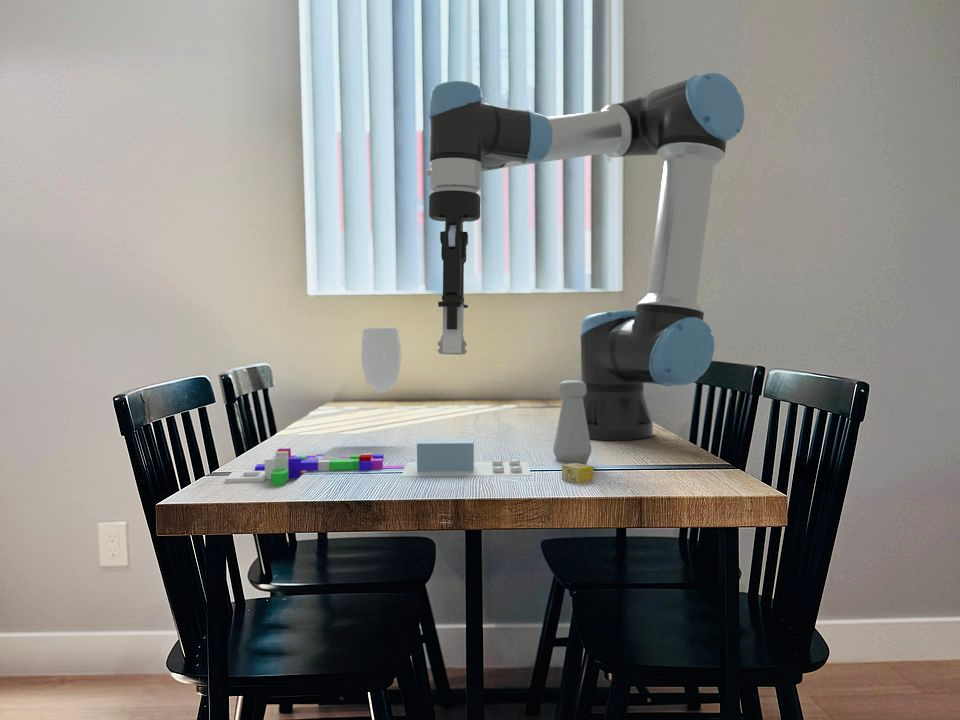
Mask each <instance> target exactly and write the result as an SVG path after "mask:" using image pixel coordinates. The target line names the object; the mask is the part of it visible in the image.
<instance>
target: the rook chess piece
mask: <svg viewBox="0 0 960 720" xmlns="http://www.w3.org/2000/svg"><path fill="white" fill-rule="evenodd" d="M461 301H462V300H461ZM463 307H464V306H463V304H462V305H461V307H457V308H462V309H463ZM467 345H468V343H467V342H466V340H465V337H464V334H463V335H462V344H461V353H442V346H443V333H442V335H441V336H440V340H438V342H437V346H438V347H439V348H438V349H437V350H436V351H437V352H438V354H440V355H455V356H456V355H459V356H460V355H461V356H462V355H465V354H467V352H468V350H466V347H467Z"/></svg>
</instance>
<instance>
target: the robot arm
mask: <svg viewBox="0 0 960 720" xmlns="http://www.w3.org/2000/svg"><path fill="white" fill-rule="evenodd" d="M482 93H483V92H482V88H481V87H480V86H479V85H477V84H475V83H472V82H469V81H464V80H450V81H444V82H440V83H439V84H437V85H436V86H434V87H433V88H432V90H431V95H430V102H429V103H430V104H429V114H428V118H429V167H430V169H429V168H427V169H425V175H426V176H427V177H429V189H430V190H431V191H432V192H431V193H430V194H429V195H428V198H429V199H428V216H429V218H430V220H433V221H436V222H445V227H444V231H440V234H439V241H440V244H441V252H440V253H441V254H440V256H441V257H440V258H441V261H442V295H441V301H437V304H438V308H439V307H441V308H442V334H443V346H442V353H461V344H462V335H463V336H464V310H465V309H468V307H469V303H467V302H465V298H464V291H465V289H464V287H465V286H464V284H465V283H464V281H465V280H464V276H465V274H464V273H465V263H466V261H467V246H468V244H469V234H468V231H464V222H467V223H470V222H475V221H476V222H477V221H479V220H480V218H481V196H480V195H479V193H478V192H480V191H481V189H482V172H486V171H493V170H498V169H504V168H511V167H513V168H514V167H518V166H519V167H520V166H525V165H533V164H539V163H545V162H548V163H549V162H553V161H554V162H555V161H562V160H568V159H574V158H582V157H588V156H595V155H596V156H597V155H601V154H602V155H606V157H607V156H608V157H609V158H620V157H630V156H632V157H633V156H637V157H638V156H658V157H659V158H660V159H661V160H662V162H663V169H662V170H663V171H662V178H661V185H660V194H659V198H658V207H657V213H656V222H655V231H654V236H653V237H654V238H653V244H652V254H651V261H650V267H649V275H648V283H647V290H646V295H645V296H644V297H643V298H642V299H641V300H640V301H638V302H637V303H636V307H635V309H634V310H633V309H628V310H625V309H624V310H613V311H605V312H598V313H594V314H589V315H587V316H586V317H584V319H583V320H582V322H581V332H580V333H581V334H580V352H581V353H580V360H581V361H580V362H581V363H580V365H581V366H580V367H581V370H580V374H581V379H580V381H583V382H584V383H585V384H586V388H587V391H586V395H585V396H583V403H584V408H585V414H586V420H587V426H588V432H589V438H590V439H592V440H602V441H603V440H604V441H605V440H607V441H627V440H629V441H630V440H639V439H640V440H641V439H645V438H650V437H652V436H653V435H654V431H653V430H654V424H653V420H652V417H651V414H650V411H649V408H648V405H647V402H646V399H645V395H644V394H645V393H644V383H645V384H654V385H659V386H665V387H673V386H688V385H690V384H693V383H695V382H697V381H698V379H699V378H700V377H702V376H704V374H705V373H706V372H707V370H708V369H709V367H710V365H711V363H712V361H713V357H714V352H715V337H714V335H713V334H712V329H711V327H710V326H709V324H708V323H707V322H705V321H704V317H705V316H704V315H705V311H704V309H703V308H702V307H701V305H700V304H699V303H698V301H697V300H698V294H699V293H698V291H699V285H700V277H701V269H702V261H703V256H704V255H703V253H704V249H705V248H704V245H705V238H706V230H707V222H708V217H709V216H708V215H709V208H710V201H711V194H712V188H713V187H712V185H713V179H714V170H715V167H716V166H717V165H718V164H719V163H720V162H722V161H723V160H724V159H725V155H726V149H727V141H730V140H732V139H733V138H735V137H736V136H737V135H738V133H740V132H741V130H742V128H743V126H744V122H745V106H744V102H743V98H742V96H741V93H739V91H738V88H737V87H736V85H735V84H734V83H733V82H732V80H730V79H729V78H728V77H727V76H726V75H723V74H721V73H719V72H708V73H704V74H703V73H702V74H697V75H696V74H695V75H693V76H691V77H690V78H688V79H685V80H682V81H679V82H676V83H673V84H670V85H668V86H667V85H666V86H664V87H661V88H658V89H654V90H651V91H649V92H647V93H644V94H642V95H640V96H637V97H634V98H631V99H629V100H627V101H622V102H618V103H610V104H607V105H605V106H604V107H603V108H602V109H601V110H600V111H599V110H598V111H592V112H591V111H590V112H583V113H574V114H573V113H572V114H565V115H564V114H563V115H554V116H546V115H544V114H540V113H537V112H534V111H531V110H528V109H526V110H523V109H519V108H512V107H505V106H499V105H494V104H490V103H486V102H483V101H484V100H483V99H484V98H483V94H482ZM461 300H462V301H461ZM462 304H463V306H464V307H463V309H462V308H457V307H461V305H462Z"/></svg>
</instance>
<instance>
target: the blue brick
mask: <svg viewBox="0 0 960 720" xmlns="http://www.w3.org/2000/svg"><path fill="white" fill-rule="evenodd" d="M474 442H475V441H474V438H419V439H418V441H417V442H416V462H417V472H436V471H474V462H475V453H474V451H475V446H474V444H475V443H474Z"/></svg>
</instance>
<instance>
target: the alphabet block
mask: <svg viewBox="0 0 960 720" xmlns="http://www.w3.org/2000/svg"><path fill="white" fill-rule="evenodd" d="M561 480H562V481H565V482H572V483H577V484H580V483H585V482H590V481H593V480H594V466H592V465H587V464H586V465H583V464H582V463H579V462H571V463H567V464H566V463H565V464H562V465H561Z"/></svg>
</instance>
